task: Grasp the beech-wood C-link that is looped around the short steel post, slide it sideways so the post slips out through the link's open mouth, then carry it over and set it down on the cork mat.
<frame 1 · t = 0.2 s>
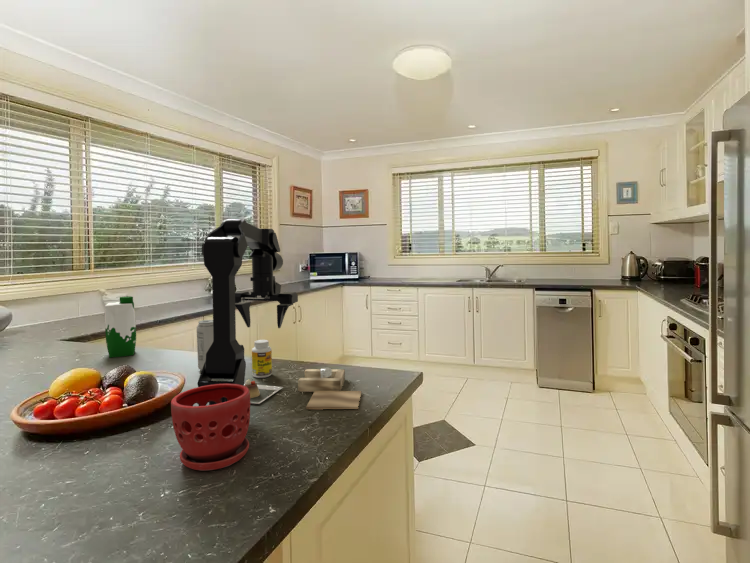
hand: (264, 327, 123), 14 cm above the countertop, tool pointing down, fingers open, 9 cm apart
steel post: (326, 385, 116), on the countertop
supplement bottle: (262, 376, 125), on the countertop
plant pot: (214, 458, 77), on the countertop
energy drink can: (209, 370, 131), on the countertop
cork mat: (335, 400, 105), on the countertop
c link: (322, 385, 116), on the countertop
dessert: (251, 397, 109), on the countertop
milk carton: (122, 354, 150), on the countertop
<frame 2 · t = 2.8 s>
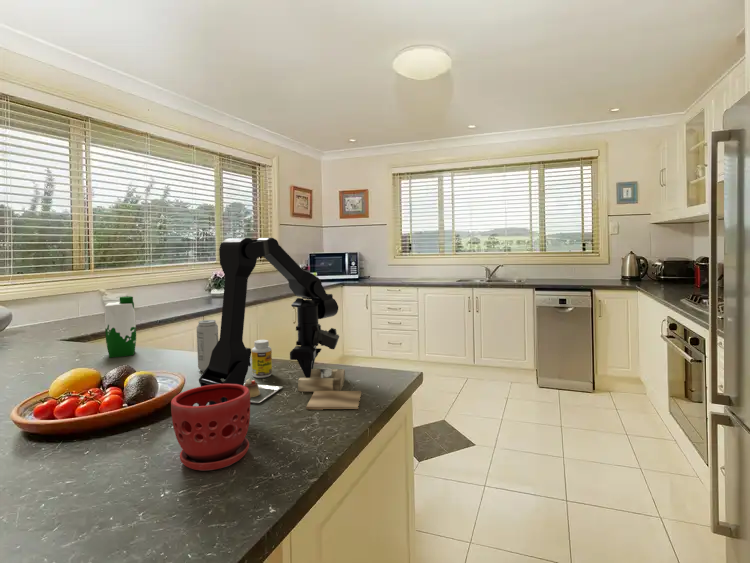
hand: (308, 376, 120), 1 cm above the countertop, tool pointing down, fingers closed on c link, 2 cm apart
c link: (322, 385, 116), on the countertop, touching gripper
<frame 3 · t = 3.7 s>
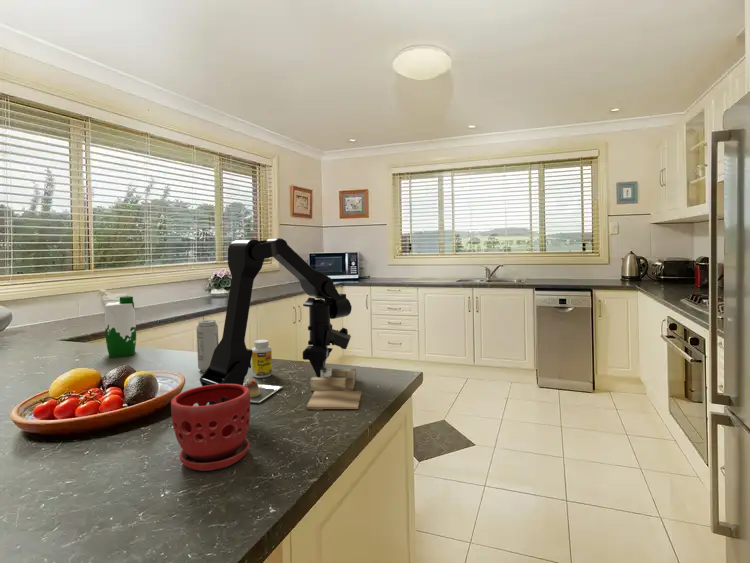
hand: (320, 376, 121), 1 cm above the countertop, tool pointing down, fingers closed on c link, 2 cm apart
c link: (334, 384, 117), on the countertop, touching gripper
everything else where it was.
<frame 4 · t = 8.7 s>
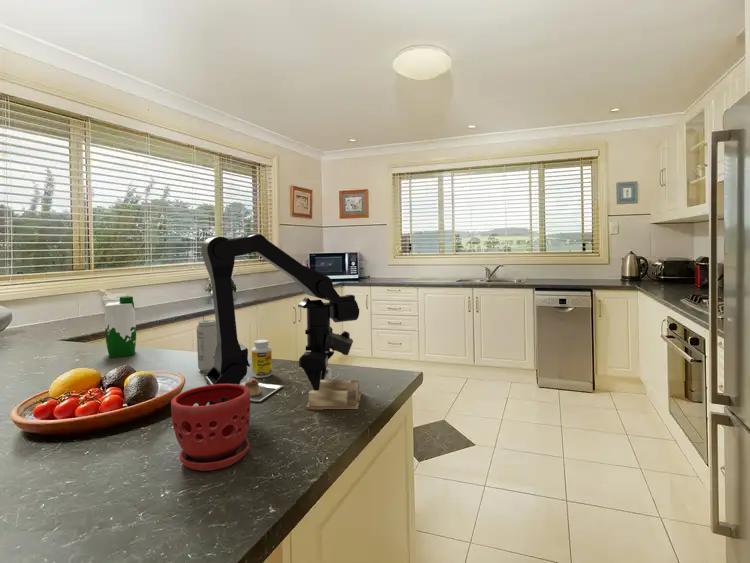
hand: (319, 385, 109), 3 cm above the countertop, tool pointing down, fingers open, 7 cm apart
c link: (335, 398, 105), point 1 cm above the countertop, touching cork mat
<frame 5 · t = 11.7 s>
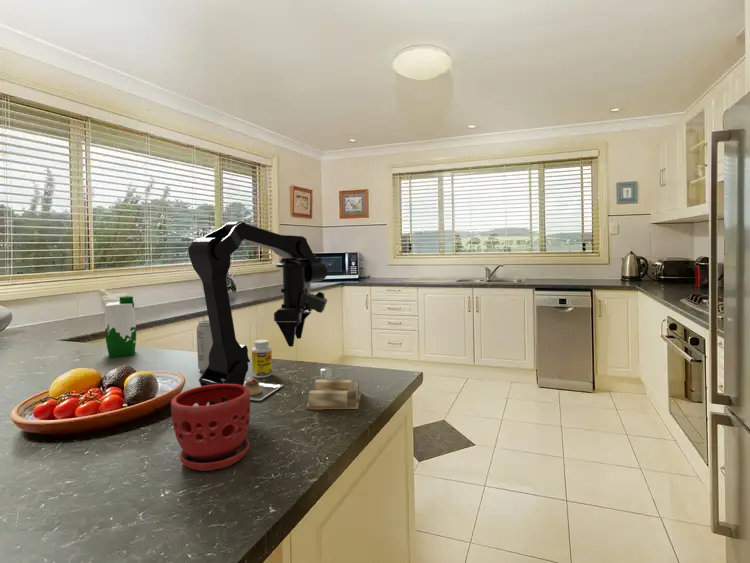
hand: (295, 342, 115), 12 cm above the countertop, tool pointing down, fingers open, 9 cm apart
at the end: c link inside the target area (0.1 cm from its centre), point 0.6 cm above the countertop; c link touching cork mat; the gripper is holding nothing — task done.
